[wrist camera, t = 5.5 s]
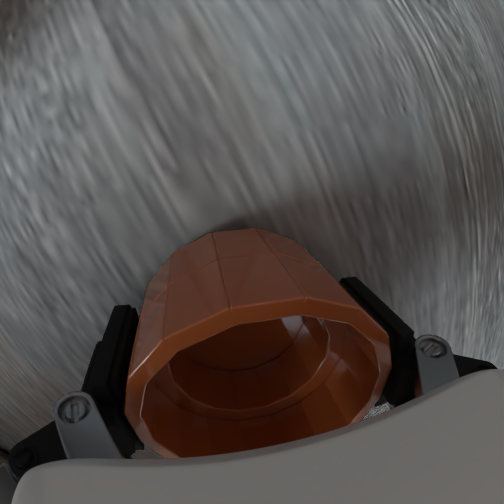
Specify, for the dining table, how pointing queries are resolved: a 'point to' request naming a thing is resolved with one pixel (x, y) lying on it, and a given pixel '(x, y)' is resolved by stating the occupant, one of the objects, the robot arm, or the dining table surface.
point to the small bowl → (249, 349)
